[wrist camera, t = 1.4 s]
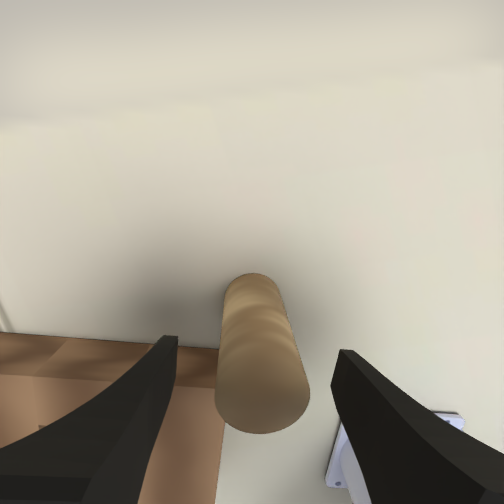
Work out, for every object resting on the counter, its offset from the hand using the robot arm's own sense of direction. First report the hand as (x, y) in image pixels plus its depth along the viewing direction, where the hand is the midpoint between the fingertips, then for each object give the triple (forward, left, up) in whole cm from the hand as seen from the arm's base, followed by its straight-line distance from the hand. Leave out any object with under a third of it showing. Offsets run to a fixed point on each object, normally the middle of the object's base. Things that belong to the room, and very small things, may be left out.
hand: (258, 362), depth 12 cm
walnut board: (+9, +10, -6) cm, 15 cm away
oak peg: (0, 0, -6) cm, 6 cm away
